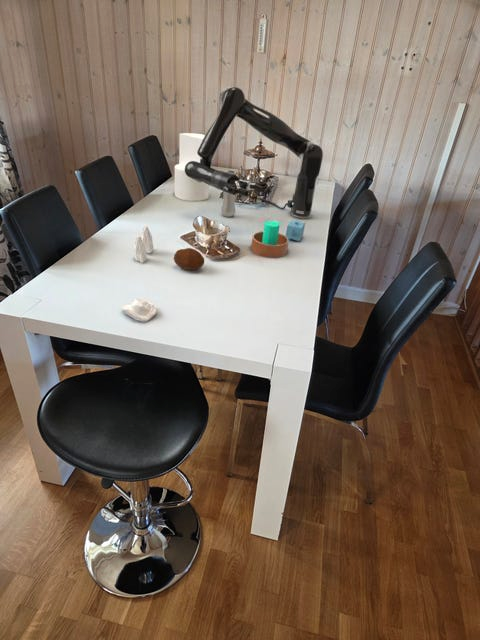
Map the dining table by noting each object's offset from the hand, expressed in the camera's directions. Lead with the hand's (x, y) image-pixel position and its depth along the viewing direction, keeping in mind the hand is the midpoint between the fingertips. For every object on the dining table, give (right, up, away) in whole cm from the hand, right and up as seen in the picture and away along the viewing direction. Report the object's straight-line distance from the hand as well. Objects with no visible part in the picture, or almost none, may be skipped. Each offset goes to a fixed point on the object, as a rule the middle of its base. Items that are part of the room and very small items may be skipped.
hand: (255, 191), depth 167 cm
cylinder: (-31, +14, +55) cm, 64 cm away
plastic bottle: (-12, -1, +35) cm, 36 cm away
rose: (-35, -48, -40) cm, 71 cm away
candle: (+5, -21, +6) cm, 23 cm away
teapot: (+17, -15, +18) cm, 29 cm away
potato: (-24, -31, -13) cm, 41 cm away
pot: (+6, -21, +6) cm, 23 cm away
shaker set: (-41, -26, -8) cm, 49 cm away
